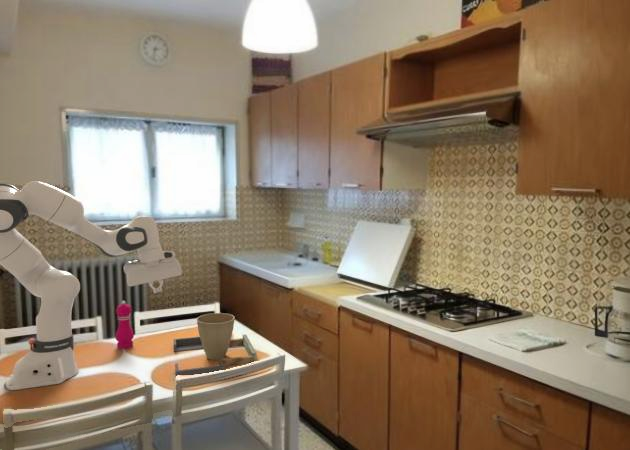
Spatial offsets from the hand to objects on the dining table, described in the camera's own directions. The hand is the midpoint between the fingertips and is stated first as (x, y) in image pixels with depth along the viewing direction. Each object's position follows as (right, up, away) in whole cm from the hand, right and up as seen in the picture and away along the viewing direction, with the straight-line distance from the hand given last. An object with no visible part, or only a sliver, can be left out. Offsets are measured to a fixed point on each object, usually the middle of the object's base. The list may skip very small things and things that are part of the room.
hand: (158, 292), depth 176 cm
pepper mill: (-21, -26, +21) cm, 40 cm away
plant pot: (+21, -27, +9) cm, 35 cm away
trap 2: (+18, -28, -7) cm, 34 cm away
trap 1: (+9, -26, +20) cm, 34 cm away
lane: (+28, -27, +11) cm, 40 cm away
